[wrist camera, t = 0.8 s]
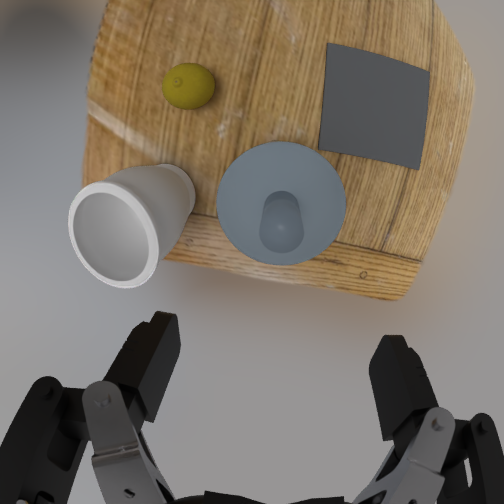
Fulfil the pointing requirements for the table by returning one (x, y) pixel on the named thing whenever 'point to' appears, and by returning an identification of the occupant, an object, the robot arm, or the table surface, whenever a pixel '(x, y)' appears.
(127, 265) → the jar
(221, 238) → the table surface
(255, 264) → the table surface
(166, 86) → the lemon
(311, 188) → the lid
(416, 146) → the mat
